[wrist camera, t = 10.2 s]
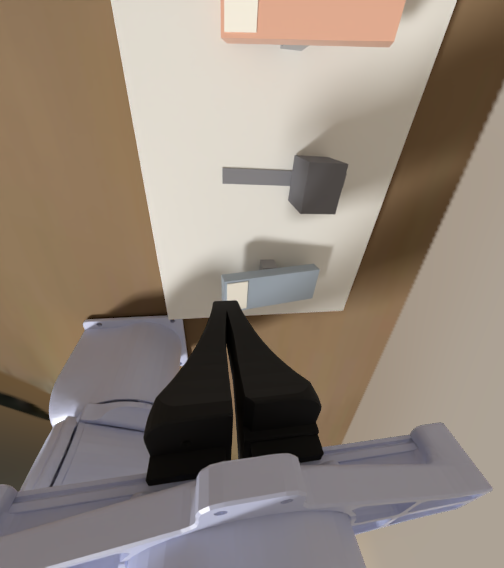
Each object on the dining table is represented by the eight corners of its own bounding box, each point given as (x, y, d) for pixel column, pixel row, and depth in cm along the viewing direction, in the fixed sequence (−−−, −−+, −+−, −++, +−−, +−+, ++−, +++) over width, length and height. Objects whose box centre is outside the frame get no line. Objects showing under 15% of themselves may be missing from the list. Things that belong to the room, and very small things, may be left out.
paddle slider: (287, 200, 18) (300, 213, 15) (294, 155, 16) (309, 162, 14) (318, 201, 18) (335, 214, 16) (327, 156, 17) (348, 164, 14)
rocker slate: (221, 305, 20) (224, 313, 19) (221, 274, 18) (224, 282, 17) (306, 291, 22) (312, 298, 21) (313, 263, 20) (320, 270, 20)
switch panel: (171, 306, 25) (166, 330, 22) (90, -181, 10) (44, -296, 7) (335, 298, 27) (349, 319, 25) (463, -88, 13) (533, -145, 10)
